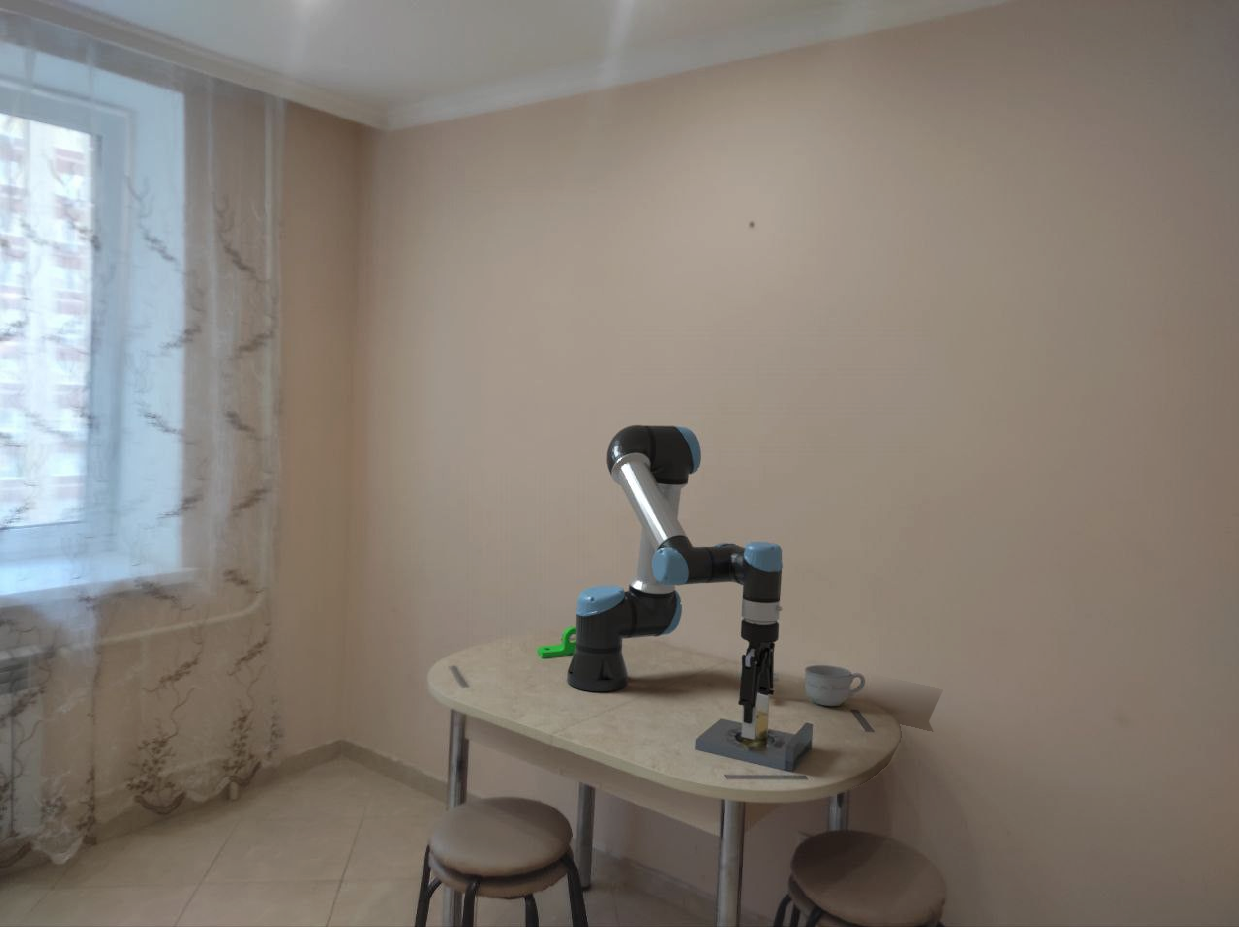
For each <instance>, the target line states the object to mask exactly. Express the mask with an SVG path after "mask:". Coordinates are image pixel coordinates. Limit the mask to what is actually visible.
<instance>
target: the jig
mask: <svg viewBox="0 0 1239 927" xmlns="http://www.w3.org/2000/svg"><path fill="white" fill-rule="evenodd" d="M813 735H814V723H810V722H805V723H804V724H803V725H802V726H801V728H800V729H799V730H798V731H797V732H796V733H795V734H794V733H790V732H786V731H780V730H777V729H772V728H768V739H767V746H765V747H754V746H749V745H745V744H742V738H743V737H742V721H741V722H739V721H735V720H731V719H725V718H722V717H721V718H719V719H718V720H717V721H716V722H715V723H713V724H712V725H711V726H710V727H709V728H707V729H706V730H705V731H704V732H703V733H702V734H700V735H698V737H696V738H695V744H694V745H695V746H694V747H695V748H694V749H695V750H698V751H701V752H706V753H710V754H715V755H720V756H724V757H726V758H731V759H735V760H739V761H743V762H748V763H752V764H757V765H761V766H764V767H769V768H773V769H777V770H781V771H784V772H789V773H793V772H794V771H795V770H796V769H797V767H798V766H799V765H800V764H801V762H803V760H804V759H805V757H806V756H807V755H808V754H809V752H810V751H811V750H812V749H813V738H814V736H813Z"/></svg>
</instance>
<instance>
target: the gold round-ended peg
mask: <svg viewBox="0 0 1239 927" xmlns="http://www.w3.org/2000/svg"><path fill="white" fill-rule="evenodd" d="M769 717H770V716H769V714H766V713H764V712H761V711H757V723H756V739H755V740H754V739H749V738H745V737H743V738H742V741H741V743H742V744H745V745H749V746H754V747H765V746H768V744H767V739H768V729H769Z"/></svg>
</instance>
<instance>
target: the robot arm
mask: <svg viewBox="0 0 1239 927" xmlns="http://www.w3.org/2000/svg"><path fill="white" fill-rule="evenodd" d="M699 442H700V441H699V440H698V439H697V435H696V434H695V433H694V432H693V430H691V429H690V428H688V427H684V426H678V425H677V426H676V425H648V424H647V425H643V424H634V425H633V424H632V425H629V426H626V427H624V428H622V429H620V430H619V431H618V432H617V433H616V434H615V435H614V436H613V437H612V439H611V440H610V443H609V444H608V447H607V451H606V462H605V463H606V466H607V470H608V473H609V474H610V476H611V478H612V480H613V482H614V483H616V484H617V485H620V487H621V489H622V490H623V493H624V494H625V497H626V498H627V499H628V502H629V504H630V506H631V507H632V509H633V511H634V513H635V515H636V516H637V520H638V521H639V523H640V525H641V532H640V540H639V550H638V558H637V568H636V574H635V576H634V577H633V578H631V579H630V581H629V585H628V590H627V591H625V590H624V588H623V587H622V586H618V585H613V584H612V585H604V584H603V585H597V586H596V585H595V586H593V587H589V588H586V589H584V590H582V591H581V592H580V593H579V594H578V596H577V602H576V608H575V614H576V615H575V617H576V618H575V619H576V620H575V627H576V635H575V639H576V644H575V652H574V655H572V657H571V658H572V659H571V661H570V663H569V667H568V668H567V676H566V681H567V683H568V685H569V686H571V687H573V688H576V689H579V690H584V691H591V692H608V691H609V692H610V691H617V690H620V689H623V688H624V687H626V686H627V685H628V683H629V682H628V681H629V672H628V669H627V664H626V663H625V662H626V661H625V659H624V654H623V640H624V639H632V638H633V639H635V638H648V637H649V638H650V637H660V636H664V635H669V634H671V633H672V632H674V631H676V629H677V628H678V625H679V624H680V622H681V618H682V614H683V605H682V603H681V602H682V598H681V596H680V593H679V592H678V591H677V590H676V586H682V585H684V586H685V585H696V584H713V583H714V584H715V583H716V584H717V583H718V584H719V583H735V584H739V585H741V586H742V598H741V599H742V601H741V602H742V603H741V617H742V618H743V619H742V620H741V622H740V623H741V624H740V625H741V626H740V637H741V638H742V640H745V641H747V643H748V647H747V648H746V654H742V656H741V670H742V674H741V678H740V688H739V689H740V690H739V700H738V705H739V706H742V717H741V718H742V721H741V723H742V737H745V738H749V739H754V740H755V739H756V723H757V711H761V712H764V713H766V714H768V715H769V714H770V713H769V711H770V696H773V695H774V693H775V690H773V689H774V681H773V676H774V674H775V672H774V670H775V669H774V665H775V663H774V661H775V657H774V656H775V647H776V643H775V642H777V641H778V640H779V637H780V636H779V634H780V623H779V622H778V621H779V620H780V612H782V611H783V606H781V596H782V595H781V593H782V592H781V590H782V580H783V568H784V564H783V549H782V547H781V546H780V545H779V544H777V543H773V542H772V543H771V542H765V541H752V542H751V541H750V542H748V543H747V544H746V545H745V547H744V546H743V547H742V546H739V545H737V544H735V543H728V542H721V543H717V545H714V546H693V544H692V542H691V541H690V539H689V537H688V536H687V534H686V532H685V530H684V528H683V526H682V525H681V523H680V522H679V520H678V519H679V518H678V517H679V510H680V508H679V507H680V499H681V491H682V489H683V488H684V487H686V486H687V485H688V483H689V479H690V475H693V474H695V473H697V471H698V469H699V468H700V466H701V461H702V454H701V453H702V450H701V446H700V443H699ZM757 692H760V694H759V693H757Z"/></svg>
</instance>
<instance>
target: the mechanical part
mask: <svg viewBox="0 0 1239 927" xmlns="http://www.w3.org/2000/svg"><path fill="white" fill-rule="evenodd" d="M573 635H575V636H576V626H569V627H566V628H565V630H564V631H563V632H562V636H561V644H555V645H542V646H540V647H538V648H537V656H538V657H540V658H541V659H547V657H548V658H549V657H550V658H556V656H557V657H558V656H559V657H564V656H563V655H568V656H571V655H570V654H574V652H575V644H576V638H575V639H574V641H571V640H570V639H571V637H572V636H573Z"/></svg>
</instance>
